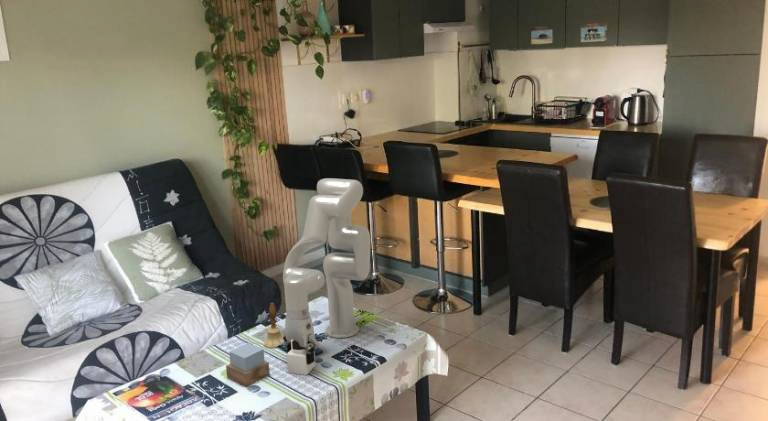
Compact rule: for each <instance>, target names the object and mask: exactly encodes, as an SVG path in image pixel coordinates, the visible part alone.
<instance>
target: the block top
mask: <svg viewBox="0 0 768 421" xmlns="http://www.w3.org/2000/svg"><path fill="white" fill-rule="evenodd" d="M264 351H265V350H264V348H262V347H259V346H257V345H254V344H252V343H250V342H247V343H244V344H242V345H240V346H239V347H236V348H234V349H232V350H229V352H228V353H229V361H230V363H229V364H231V366H233V367H236V368H238V369H240V370H242V371H244V372H247V371H249V370H251V369H253V368H255V367H257V366H259V365H261V364H263V363H265V361H266V360H265V352H264Z"/></svg>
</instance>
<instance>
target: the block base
mask: <svg viewBox="0 0 768 421" xmlns="http://www.w3.org/2000/svg"><path fill="white" fill-rule="evenodd" d="M225 371H226V378H227V380H230V381H232V382H235V383H236V384H238V385H240V386H242V387H245V388H247V387H250V386H251V385H253V384H255V383H257V382H259V381H261V380H263V379H265V378H266V377H269V376H270V375H271V374H270V364H269V362H268V361H266V360H265V363H263V364H261V365H259V366H257V367H255V368H253V369H251V370H249V371H247V372H244V371H242V370H240V369H238V368H236V367H233V366H231V364H230V363H228V364H227V365H225Z"/></svg>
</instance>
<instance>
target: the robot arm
mask: <svg viewBox="0 0 768 421" xmlns="http://www.w3.org/2000/svg"><path fill="white" fill-rule="evenodd" d="M316 191H317V195H314V196H312V197H311V198H310V199H309V201H308V206H307V210H306V211H307V212H306V218H305V222H304V223H305V224H304V228H303V233H302V237H301V238H300V239H299V241H297V242H296V243H295V244H294V245H293V246H292V248H291V250H290V251H288V253H287V256H286V258H285V262H284V267H283V271H282V272H283V273H282V283H283V287H284V300H285V314H286V315H285V321H284V322H285V324H284V325H285V326H284V328H285V329H283V330H280V333H281V336H282V337H283V339H284V341H285V342H286V343H285V344H284V345H285V346H286V351H287V352H286V354H287V353H288V352H289V351H290V350H291V340H295V341H297V342H298V343H299V345H300V346H301V347H304V348H305V350H306V352H307V354H306V361H307V364H308V365H309V364H311V363H313V362H314V361H315V362H316V358H315V359H314V351H315V352H316V350H317V349H318V347H319V345H320V343H319V341H317V339H316V338H315V337H316V336H315V330H314V323H313V320H312V317H311V315H310V314H311V313H310V310H309V295H310V294H313V293H316V292H318V291H320V290H321V289H322V288H323V286H324V284H325V282H326V289H327V290H326V291H327V301H328V302H327V303H328V321H329V325H328V326H327V327H326V328H325V333H326V335H327V336H328V337H331V338H334V339H335V338H336V339H346V338H350V337H351V338H352V337H353V336H355V335H356V334H358V332H359V330H360V329H359V326H358V324H357V323H358V322H359V321H361V320H362V319H363V316H362V315H361V314H358V315H357V316H355V313H354V312H355V309H354V289H353V285H352V283H351V280H352V281H365V280H366V279H367V278H368V276H369V274H370V273H369V272H370V267H371V265H370V264H371V234H370V231H369V229H368V228H367V227H366V226H363V225H357V224H352V212H353V211H354V210H355V208H356V207H357V206H358V204H359V202H361V200H362V197H363V194H364V187H363V185H362V183H361V182H360V181H359V180H357V179H348V178H347V179H345V178H332V177H331V178H329V177H328V178H322V179H320V180H318V181H317V184H316ZM327 241H328V245H329V246H330V247H331V248H332V249H335V250H341V251H352V252H354V253H348V252H347V253H345V252H330V253H328V254H327V255H326V256H325V257H324V258H323V262H322V265H323V266H322V267H323V271H324V272H322V271H321V270H319V269H313V268H303V267H298V266H299V261H300V260H301V258H302V256H304V255H305V253H307V252H308V251H309V250H312V249H314V248H317V247H319V246H322V245H324V244H326V243H327ZM307 343H309V344H307ZM308 346H309V347H310V348H311V349H310V350H309V348H308Z"/></svg>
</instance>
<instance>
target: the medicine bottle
mask: <svg viewBox="0 0 768 421" xmlns="http://www.w3.org/2000/svg"><path fill="white" fill-rule="evenodd" d="M307 344H309V343H307ZM308 348H309V350H310V349H311V348H310V346H308ZM315 352H316V350H315V351H314V359H315V361H314V362H313V363H311V364H309V365H308V364H307V361H306V354H307V352H306V350H305V348H304V347H301V346H300V345H299V343H298V342H297V341H295V340H291V350H290V351H289V352H288V353H287V352H286V361H287V362H286V363H287V372H288V373H289V374H295V375H303V376H308V374H309V373H310V372H311V371H312V370H313V369H314V368H315V367H316V355H315V354H316V353H315Z"/></svg>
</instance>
